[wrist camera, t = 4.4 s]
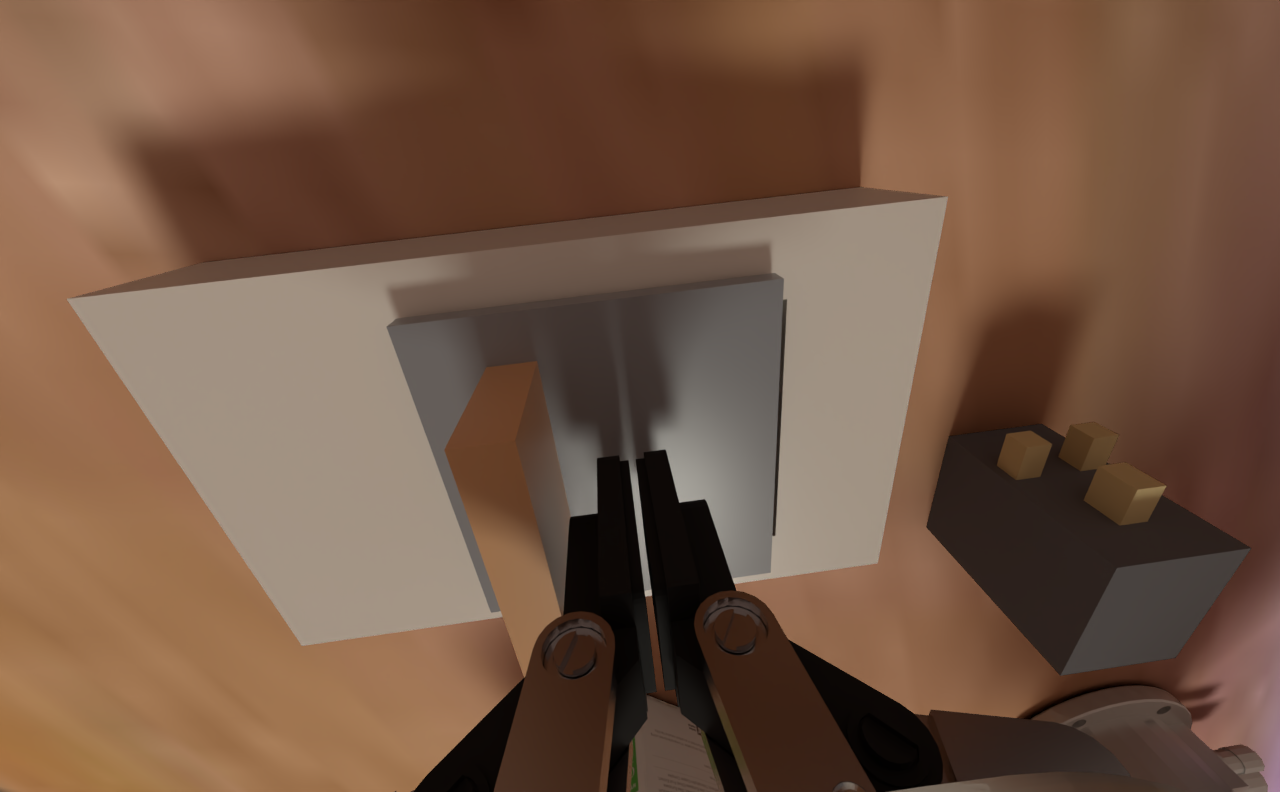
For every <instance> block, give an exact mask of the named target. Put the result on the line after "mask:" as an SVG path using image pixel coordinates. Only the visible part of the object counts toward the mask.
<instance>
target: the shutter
mask: <svg viewBox="0 0 1280 792" xmlns="http://www.w3.org/2000/svg"><path fill="white" fill-rule="evenodd" d="M783 289H784V278H782V277H780V276H779V275H777V274H776V273H770V274H762V275H754V276H745V277H737V278H729V279H720V280H712V281H704V282H696V283H687V284H679V285H671V286H662V287H654V288H646V289H637V290H629V291H621V292H612V293H604V294H596V295H588V296H579V297H571V298H563V299H554V300H546V301H538V302H529V303H521V304H513V305H505V306H496V307H488V308H480V309H471V310H463V311H455V312H446V313H438V314H430V315H421V316H413V317H405V318H397V319H395V320H394V321H393V322H392V323H390V324H389V325H388V326H387V330H388V333H389V335H390V338H391V341H392V344H393V346H394V349H395V352H396V354H397V357H398V360H399V363H400V365H401V368H402V371H403V374H404V376H405V379H406V382H407V385H408V387H409V390H410V393H411V395H412V398H413V401H414V404H415V406H416V409H417V412H418V415H419V417H420V420H421V423H422V426H423V428H424V431H425V434H426V436H427V439H428V442H429V445H430V447H431V450H432V453H433V456H434V458H435V461H436V464H437V467H438V469H439V472H440V475H441V477H442V480H443V483H444V486H445V488H446V491H447V494H448V497H449V499H450V502H451V505H452V508H453V510H454V513H455V516H456V518H457V521H458V524H459V527H460V529H461V532H462V535H463V538H464V540H465V543H466V546H467V548H468V551H469V554H470V557H471V559H472V562H473V565H474V568H475V570H476V573H477V576H478V579H479V581H480V584H481V587H482V589H483V592H484V595H485V598H486V600H487V603H488V606H489V609H490V611H491V613H492V612H499V611H501V613H502V616H503V619H504V622H505V625H506V628H507V630H508V633H509V636H510V639H511V642H512V645H513V648H514V650H515V653H516V656H517V659H518V662H519V665H520V668H521V670H522V673H523V676H524V677H525V676H526V672H527V669H528V665H529V661H530V658H531V654H532V650H533V647H534V645H535V643H536V640H537V638H538V636H539V635H540V633H541V632H542V631H543V630H544V628H545V627H546V626H547V625H548V624H550V623H551V622H552V621H554V620H555V619H556V618H558V617H561V616H563V611H564V595H565V580H566V564H567V548H568V533H569V520H570V517H573V516H581V515H588V514H596V513H598V511H597V458H601V457H609V456H617V455H619V458H620V461H625V460H629V468H630V476H631V484H632V492H633V500H634V509H635V517H636V525H637V533H638V541H639V549H640V558H641V566H642V574H643V583H644V591H646V590H651V583H650V576H649V569H648V561H647V554H646V546H645V537H644V529H643V520H642V511H641V503H640V494H639V485H638V476H637V468H636V459H641V458H644V452H649V451H656V450H664V449H665V450H666V452H667V456H668V460H669V464H670V468H671V472H672V476H673V480H674V484H675V488H676V492H677V496H678V500H679V503H680V502H687V501H695V500H703V499H705V500H706V502H707V504H708V507H709V510H710V513H711V516H712V519H713V522H714V525H715V528H716V531H717V534H718V537H719V540H720V543H721V546H722V549H723V552H724V555H725V558H726V561H727V564H728V567H729V570H730V573H731V576H732V578H737V577H744V576H751V575H758V574H765V573H771V554H772V532H773V510H774V488H775V466H776V444H777V421H778V399H779V377H780V355H781V333H782V311H783Z"/></svg>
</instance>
